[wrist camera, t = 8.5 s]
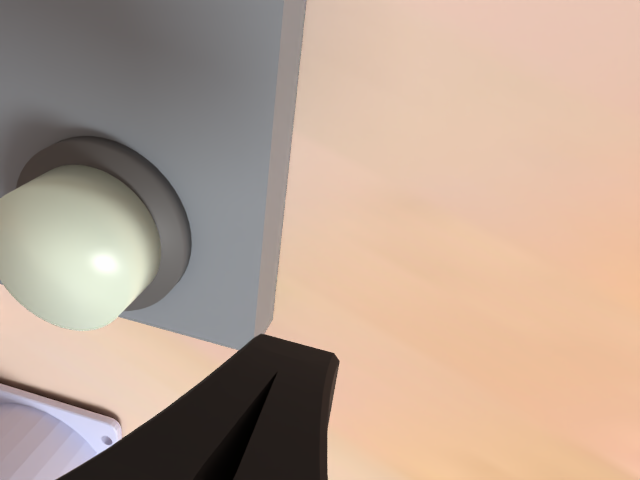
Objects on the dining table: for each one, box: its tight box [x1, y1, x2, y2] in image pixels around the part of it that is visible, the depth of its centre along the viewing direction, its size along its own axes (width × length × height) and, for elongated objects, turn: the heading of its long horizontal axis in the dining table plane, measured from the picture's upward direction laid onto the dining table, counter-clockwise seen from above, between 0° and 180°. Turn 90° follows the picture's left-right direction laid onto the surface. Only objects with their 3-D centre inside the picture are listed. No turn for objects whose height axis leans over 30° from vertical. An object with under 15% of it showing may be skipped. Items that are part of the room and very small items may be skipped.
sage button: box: [0, 165, 161, 331], centre depth 17 cm, size 4×4×2 cm
